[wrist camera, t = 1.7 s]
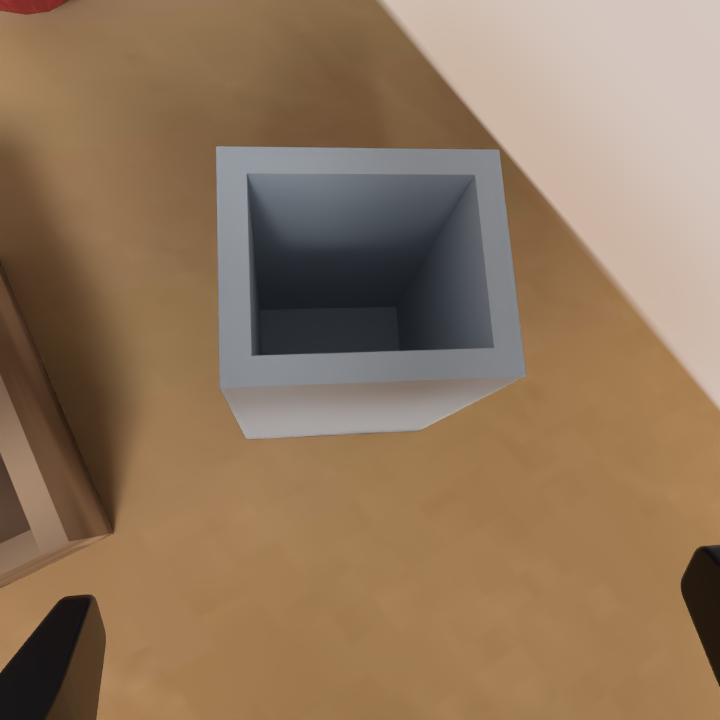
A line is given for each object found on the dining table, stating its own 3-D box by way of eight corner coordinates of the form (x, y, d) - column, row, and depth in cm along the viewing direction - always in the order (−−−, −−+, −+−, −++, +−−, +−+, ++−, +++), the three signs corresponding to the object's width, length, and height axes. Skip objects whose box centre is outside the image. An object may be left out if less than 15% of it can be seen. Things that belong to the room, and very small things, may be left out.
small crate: (419, 430, 22) (526, 376, 13) (246, 439, 21) (219, 388, 12) (407, 295, 23) (499, 149, 14) (243, 298, 23) (216, 146, 13)
